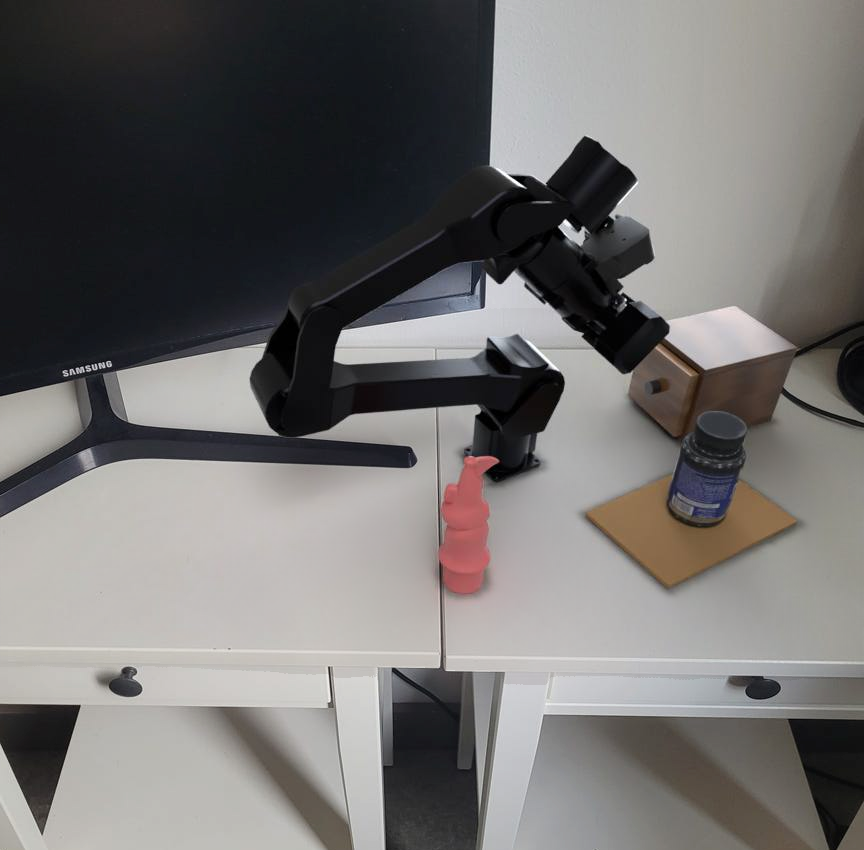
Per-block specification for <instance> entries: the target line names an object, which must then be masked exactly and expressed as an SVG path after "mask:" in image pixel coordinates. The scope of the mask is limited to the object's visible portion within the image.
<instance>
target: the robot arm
mask: <svg viewBox="0 0 864 850" xmlns="http://www.w3.org/2000/svg"><path fill="white" fill-rule="evenodd" d="M638 184H639V181H638V178H637V177H636V175H635V173H634V172H633V171H632V170H631V168H630V167H628V166H627V165H625V164H623V163H622V162H621V161H619V160H618V159H617V158H616V157H615V156H614V155H613V154H612V153H610V152H609V151H608V150H607V149H605V147H604V146H602V144H601V143H600V142H599V141H598V140H596V139H595V138H593V137H592V136H589V135H583V137H581V139H580V140H579V141H578V143H576V145H575V146H574V148H573V149H572V151H571V153H570V154H569V155H568V156H567V158H566V159H565V160H564V161H563V162H562V164H561V165H560V166H559V167H558V168H557V169H556V171H555V172H554V173H553V174H552V175H551V176H550V177H549V179H547V181H546V182H543V181H542V180H540V179H538V178H537V177H535V176H534V175H533V174H531V173H506V172H504V171H503V170H501V169H500V168H497V167H494V166H492V165H488V164H486V165H485V164H484V165H479V166H476V167H473V168H472V169H471V170H469V171H468V172H465V174H464V175H462V176H461V177H460V178H459V179H457V180H456V181H455V182H454V183H453V184H452V185H450V186H449V187H447V188H446V189H445V190H444V191H443V192H442V193H441V194H440V196H439V197H438V198H437V200H436V202H435V203H434V204H433V206H432V207H431V209H430V210H429V211H428V213H426V214H425V215H423V216H422V217H421V218H420V219H419V220H418V221H416V222H414V223H412V224H410V225H409V226H407V227H405V228H403V229H402V230H401V231H399V232H397V233H396V234H393V235H392V236H390V237H388V238H387V239H385V240H382V241H381V242H380V243H378V244H376V245H375V246H373V247H371V248H369V249H368V250H366V251H364V252H363V253H360V254H359V255H357V256H355V257H353V258H352V259H350V260H349V261H347V262H345V263H343V264H342V265H340V266H338V267H337V268H335V269H333V270H332V271H330V272H328V273H326V274H325V275H323V276H321V277H319V278H318V279H316V280H314V281H313V282H305V283H301V284H300V285H298V286H296V288H295V289H293V291H292V292H291V294H290V296H289V298H288V302H287V305H286V308H285V311H284V313H283V315H282V317H281V318H280V319H279V320H278V322H277V323H276V324H275V326H274V328H272V330H271V332H270V334H269V336H268V339H267V342H266V344H265V347H264V350H263V354H262V357H261V359H260V360H258V361H257V362H256V363H255V365H254V366H253V368H252V370H251V371H250V376H249V385H250V386H249V387H250V389H251V392H252V394H253V396H254V398H255V400H256V402H257V404H258V406H259V408H260V411H261V413H262V415H263V417H264V419H265V421H266V423H267V425H268V427H269V429H270V430H272V431H273V432H274V433H276V434H277V435H278V436H279V437H281V438H285V439H287V438H288V439H296V438H302V437H306V436H310V435H314V434H318V433H319V434H320V433H323V432H327V431H330V430H331V429H333V428H334V427H336V426H337V425H338V424H340V423H341V422H343V421H344V420H345V419H346V418H348V417H350V416H354V415H361V414H362V415H363V414H375V413H388V412H399V411H400V412H401V411H412V410H414V411H415V410H425V409H437V408H438V409H439V408H440V409H441V408H450V407H451V408H452V407H462V406H464V407H465V406H477V407H478V408H479V409H480V412H479V413H478V414H475V415H474V424H473V434H472V435H473V437H472V445H469V446H466V447H464V449H463V454H464V455H465V457H467V456H473V457H475V458H477V457H482V456H491V457H494V458H496V459H498V460H499V463H497V464H495V465H493V466H492V467H490V468H489V469H488V470H486V471H485V472H484V473H483V474H485V475H486V477H487V478H489V479H490V480H491V481H492V482H493V483H500V482H503V481H505V480H507V479H509V478H513V477H515V476H518V475H520V474H522V473H525V472H527V471H530V470H533V469H535V468H539V467H540V466H541V463H542V460H541V459H540V458H539V457H538V456H537V455H536V454H535V453H534V452H535V450H536V445H537V440H538V439H537V437H538V434H539V433H543V432H545V430H546V428H547V426H548V424H549V422H550V420H551V418H552V416H553V414H554V412H555V410H556V408H557V406H558V404H559V403H560V400H561V398H562V396H563V394H564V391H565V387H566V380H565V376H564V375H563V373H562V371H561V370H559V369H558V368H557V366H555V365H554V363H552V362H551V361H550V360H549V358H547V357H546V356H545V355H544V354H543V352H541V351H540V350H539V349H538V348H537V347H536V346H535V345H534V344H533V343H532V342H531V341H529V340H527V339H524V338H523V337H522V336H521V335H520V334H519V333H515V334H513V335H510V336H505V337H503V336H502V337H501V336H494V335H491V336H488V337H487V338H486V346H485V348H484V349H483V350H481V351H480V352H479V353H478V354H476V355H475V356H472V357H463V358H462V357H461V358H460V357H459V358H444V359H442V358H441V359H424V360H407V361H389V362H388V361H387V362H372V363H353V364H352V363H351V364H348V363H347V364H346V363H341V362H339V361H335V355H336V346H337V343H338V341H339V338H340V336H341V333H342V330H344V329H345V328H348V326H351V325H353V324H354V323H355V322H357V321H359V320H360V319H362V318H365V317H366V316H368V315H369V314H371V313H373V312H375V311H376V310H378V309H380V308H381V307H383V306H385V305H386V304H389V303H390V302H391V301H394V300H395V299H397V298H399V297H400V296H403V294H405V293H407V292H409V291H411V290H412V289H414V288H416V287H417V286H419V285H421V284H423V283H424V282H426V281H428V280H429V279H431V278H433V277H434V276H437V275H438V274H440V273H441V272H444V271H445V270H447V269H450V268H451V267H454V266H457V265H460V264H468V263H477V262H481V270H482V271H483V272H484V273H485V274H486V275H487V276H488V277H490V278H491V280H493V281H494V283H496V284H497V285H499V286H500V285H503V284H504V283H505V282H506V281H507V280H508V279H509V278H510V276H511V275H512V274H513V273H515V274H516V275H517V277H519V278H520V279H521V280H522V282H524V284H523V287H524V288H525V289H526V290H527V291H528V292H529V293H530V294H531V295H532V296H533V297H534V298H536V299H537V301H539V302H540V303H541V304H543V306H546V305H548V306H549V307H550V308H551V309H552V310H553V311H554V312H556V313H557V314H558V315H559V316H560V317H561V320H562V321H563V322H564V323H565V324H566V325H567V326H568V327H569V328H571V330H573V331H574V332H578V333H581V339H583V340H584V341H585V342H586V343H587V344H588V345H590V346H591V347H592V348H593V349H594V350H595V352H597V353H598V354H599V355H600V356H601V357H602V358H603V359H604V360H606V361H607V362H608V363H609V364H610V365H611V366H612V367H613V368H615V369H616V370H617V371H618V372H619V373H620V374H621V375H627V374H632V373H633V370H634V369H635V368H636V367H637V366H638V365H639V364H640V363H641V362H642V360H643V359H644V358H645V357H646V356H647V355H648V354H649V353H650V352H651V351H652V350H653V349H654V348H655V347H656V346H657V345H658V344H659V343H660V342H661V341H662V340H663V339H664V338H665V337H666V336H667V335H668V334H669V331H670V325H669V324H668V323H667V322H666V321H667V320H665V318H664V317H662V315H661V314H659V313H658V312H656V311H655V310H654V309H653V308H651V307H650V306H649V305H647V304H646V303H644V302H643V301H642V300H637V301H636V300H634V299H633V298H631V296H629V295H628V294H626V293H625V292H622V293H620V292H621V291H622V289H624V287H625V286H624V285H623V283H622V282H620V280H621V279H624V278H626V277H627V276H629V275H631V274H633V272H636V271H637V270H639V269H640V268H642V267H643V266H645V265H646V266H647V265H649V264H650V263H652V262H653V261H654V260H655V258H656V253H655V248H654V244H653V240H652V239H653V238H652V236H651V232H650V229H649V227H647V226H645V225H644V224H642V223H641V222H639V221H638V220H636V219H635V218H633V217H632V216H628V215H623V216H622V215H621V214H620V213H616V214H615V215H614V218H613V217H612V216H610V215H611V213H612V212H613V211H614V210H615V209H616V208H617V207H618V206H619V204H620V203H621V202H623V200H624V199H625V198H626V197H627V195H629V194H630V193H631V191H632V190H633V189H635V187H636V186H637V185H638ZM562 224H564V225H565V226H566V227H567V228H569V229H570V230H572V232H574V233H576V234H579V233H580V232H581V231H582V230H584V231H583V233H584V239H583V242H582V244H580V245H579V244H578V243H577V242H576V241H574V240H573V239H571V238H570V237H569V236H568V235H567V233H565V231H564V230H562V228H561V227H560V226H561V225H562Z"/></svg>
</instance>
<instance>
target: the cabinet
mask: <svg viewBox="0 0 864 850" xmlns="http://www.w3.org/2000/svg"><path fill="white" fill-rule="evenodd" d="M665 321H666V322H667V323H668V324H669V325H670V331H669V334H668V335H667V336H666V337H665V338H664V339H663V340H662V341H661V343H662V344H664V345H665V346H666V347H667V348H669V349H670V350H671V351H673V352H674V353H675V354H676V355H678V356H679V357H680V358H681V359H683V360H684V361H685V362H686V363H688V364H689V365H690V366H692V367H693V368H694V369H695V370H697V371H698V372H699V379H698V382H697V386H696V389H695V393H694V396H693V400H692V403H691V407H690V410H689V414H688V417H687V421H686V424H685V428H684V431H683V434H682V435H680V436H676V438H677V439H678V440H679V441H680V442H681V443H682V442H683V440H684V438H685V437H686V436H687V435H689V434H690V433H692V432H694V426H695V423H696V420H697V418H698V416H699V415H701V414H702V413H705V412H709V411H722V412H726V413H729V414H732V415H735V416H737V417H738V418H740V419H741V420H742V421H743V422H744V423H745V424H746V426H747V428H749V427H752V426H755V425H759V424H764V423H767V422H770V421H772V419H773V416H774V413H775V411H776V407H777V406H778V402H779V400H780V397H781V394H782V391H783V390H784V389H783V388H784V386H785V383H786V380H787V378H788V375H789V372H790V370H791V367H792V364H793V361H794V359H795V356H796V353H797V352H798V346H796V345H794V344H793V343H791V342H790V341H789V340H787V339H786V338H784V337H782V336H781V335H780V334H778V333H776V332H775V331H773V330H772V329H770V328H769V327H767V326H766V325H765V324H763V323H762V322H760V321H758V320H757V319H755V318H754V317H752V316H751V315H749V314H748V313H746V312H745V311H743V310H742V309H741V308H739V307H737V305H732V306H727V307H723V308H718V309H714V310H709V311H705V312H700V313H696V314H691V315H687V316H682V317H678V318H673V319H669V320H665Z"/></svg>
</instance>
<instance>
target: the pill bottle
mask: <svg viewBox="0 0 864 850" xmlns="http://www.w3.org/2000/svg"><path fill="white" fill-rule="evenodd" d="M747 434H748V427H747V426H746V424H745V423H744V422H743V421H742V420H741V419H740V418H738V417H737V416H735V415H732V414H729V413H726V412H722V411H709V412H705V413H702V414H701V415H699V416H698V418H697V420H696V423H695V426H694V432H692V433H690V434H689V435H687V436H686V437H685V438H684V440H683V442H681V445H680V448H679V452H678V455H677V459H676V463H675V466H674V470H673V472H672V474H673V476H672V480H671V484H670V487H669V491H668V494H667V498H666V504H667V507H668V509H669V511H670V513H671V514H672V515H673V516H674V517H675V518H677V519H678V520H679V521H681V522H683V523H685V524H688V525H691V526H695V527H712V526H715V525H717V524H720V523H721V522H722V521H723V520H724V519H725V517H726V516H727V512H728V509H729V506H730V503H731V500H732V497H733V495H734V492H735V489H736V486H737V483H738V480H740V477H741V474H742V473H743V472H742V471H743V469H744V466H745V463H746V461H747V451H746V448H745V446H744V442H745V439H746V436H747Z"/></svg>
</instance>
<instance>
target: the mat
mask: <svg viewBox="0 0 864 850" xmlns="http://www.w3.org/2000/svg"><path fill="white" fill-rule="evenodd" d="M672 476H673V473H672V474H670V475H668V476H665V477H662V478H661V479H658V480H656V481H653V482H651V483H649V484H647V485H644V486H642V487H640V488H637V489H635V490H633V491H631V492H628V493H626V494H624V495H622V496H621V495H620V496H619V497H616V498H614V499H612V500H610V501H607V502H605V503H603V504H601V505H599V506H596V507H594V508H592V509H589V510H587V511H585V513H584V516H585V517H586V518H587V519H589V520H590V522H591V523H592V524H594V525H595V526H596V527H597V528H599V529H600V530H601V531H602V532H603V533H604V534H605V535H606V536H608V538H610V540H612V541H613V542H614V543H616V544H617V545H618V546H619V547H620V548H621V549H622V550H623V551H624V552H626V553H627V554H628V555H629V556H630V557H631V558H632V559H634V561H636V563H638V564H639V565H640V566H641V567H642V568H643V569H644V570H646V571H647V572H648V573H649V574H650V575H651V576H652V577H654V579H656V580H657V581H658V582H659V583H660V584H662V586H664V587H665V588H666V589H668V590H669V589H671V588H673V587H675V586H677V585H679V584H681V583H683V582H685V581H687V580H689V579H691V578H693V577H695V576H697V575H699V574H701V573H702V572H704V571H706V570H708V569H710V568H713V567H714V566H717V565H718V564H720V563H723V562H724V561H726V560H729V559H730V558H733V557H734V556H737V555H738V554H740V553H742V552H744V551H747V550H748V549H751V548H753V547H754V546H756V545H758V544H760V543H762V542H764V541H766V540H768V539H770V538H772V537H774V536H775V535H778V534H780V533H782V532H784V531H785V530H788V529H789V528H792V527H793V526H795V525H797V523H798V520H797V518H794V517H793V516H792V515H791V514H789V513H787V512H786V511H785V510H783V509H782V508H781V507H779V506H777V505H776V504H775V503H774V502H772V501H770V500H769V499H767V498H766V497H765V496H763V495H762V494H761V493H759V492H757V491H756V490H755V489H753V488H752V487H751V486H750V485H748V484H746V483H745V482H744V481H743V480H740V479H739V480H738V483H737V486H736V489H735V492H734V495H733V497H732V500H731V503H730V506H729V509H728V512H727V516H726V517H725V519H724V520H723V521H722V522H721V523H720V524H717V525H715V526H712V527H695V526H691V525H688V524H685V523H683V522H681V521H679V520H678V519H677V518H675V517H674V516H673V515H672V514H671V513H670V511H669V509H668V507H667V504H666V498H667V494H668V491H669V487H670V484H671V480H672Z"/></svg>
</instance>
